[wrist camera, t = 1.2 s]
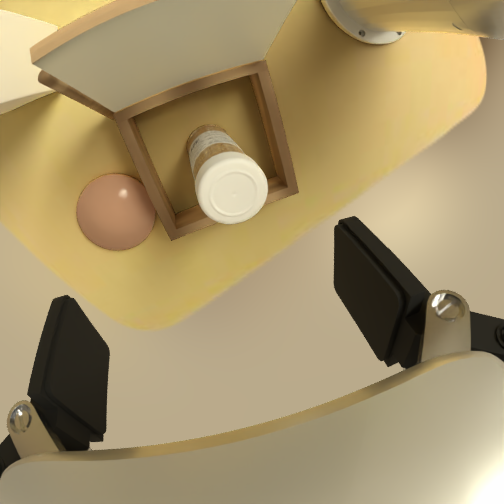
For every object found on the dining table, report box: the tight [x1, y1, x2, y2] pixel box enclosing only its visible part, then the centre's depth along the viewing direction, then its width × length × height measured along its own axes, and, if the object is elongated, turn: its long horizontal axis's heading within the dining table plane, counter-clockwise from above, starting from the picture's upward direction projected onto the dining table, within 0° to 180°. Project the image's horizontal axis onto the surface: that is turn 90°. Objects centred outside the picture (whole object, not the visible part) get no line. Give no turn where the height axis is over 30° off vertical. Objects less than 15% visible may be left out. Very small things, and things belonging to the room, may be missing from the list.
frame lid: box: [30, 0, 297, 112], centre depth 15 cm, size 14×14×1 cm
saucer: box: [77, 173, 155, 250], centre depth 30 cm, size 9×9×1 cm
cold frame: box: [38, 60, 299, 241], centre depth 22 cm, size 15×19×14 cm
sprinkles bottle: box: [187, 124, 268, 224], centre depth 24 cm, size 5×5×14 cm
